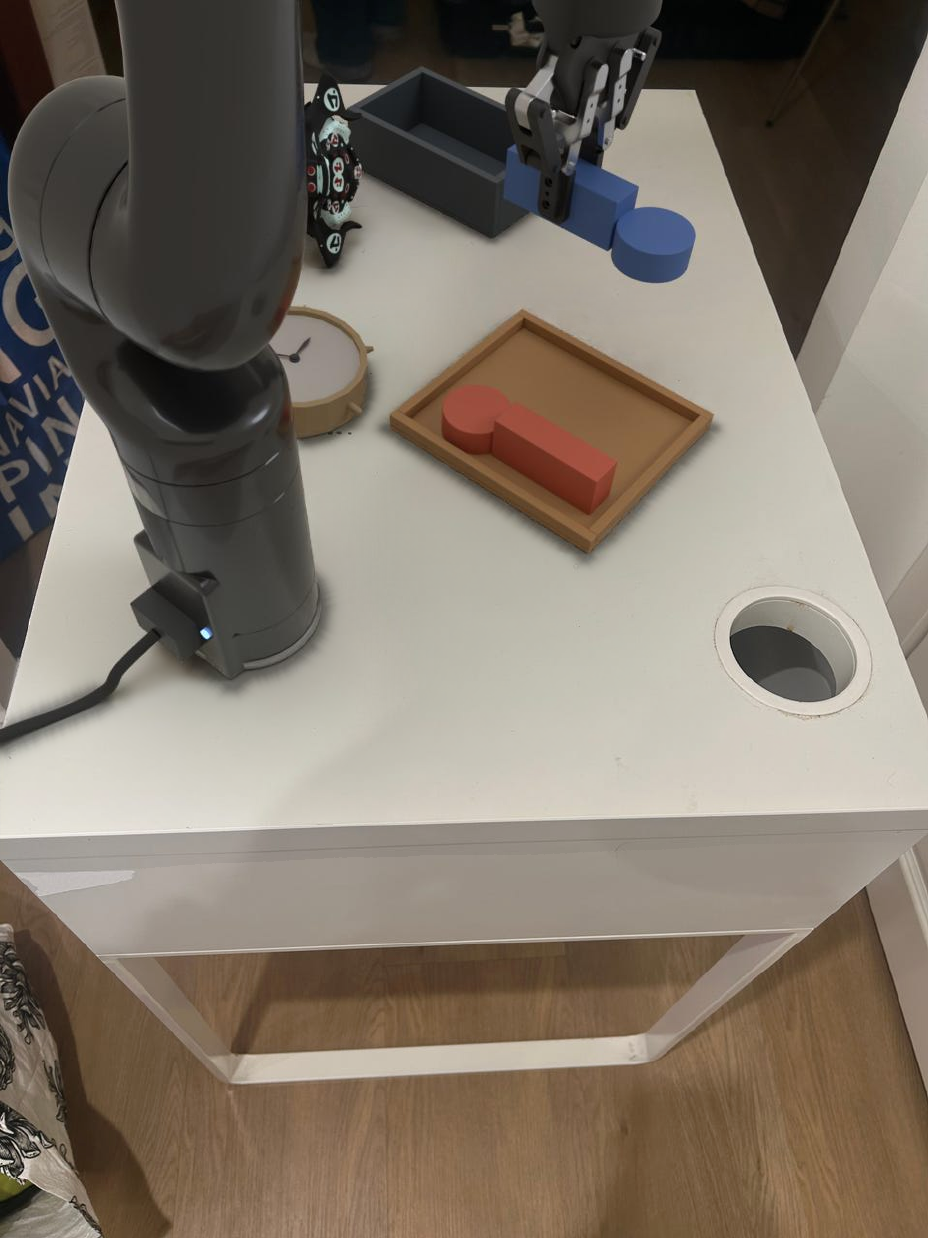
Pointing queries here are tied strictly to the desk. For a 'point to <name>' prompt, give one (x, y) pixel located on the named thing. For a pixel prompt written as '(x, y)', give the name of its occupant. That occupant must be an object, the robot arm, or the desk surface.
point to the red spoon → (527, 445)
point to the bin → (439, 147)
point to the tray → (561, 420)
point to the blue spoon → (612, 220)
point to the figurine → (329, 169)
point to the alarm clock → (321, 369)
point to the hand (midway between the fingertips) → (566, 206)
